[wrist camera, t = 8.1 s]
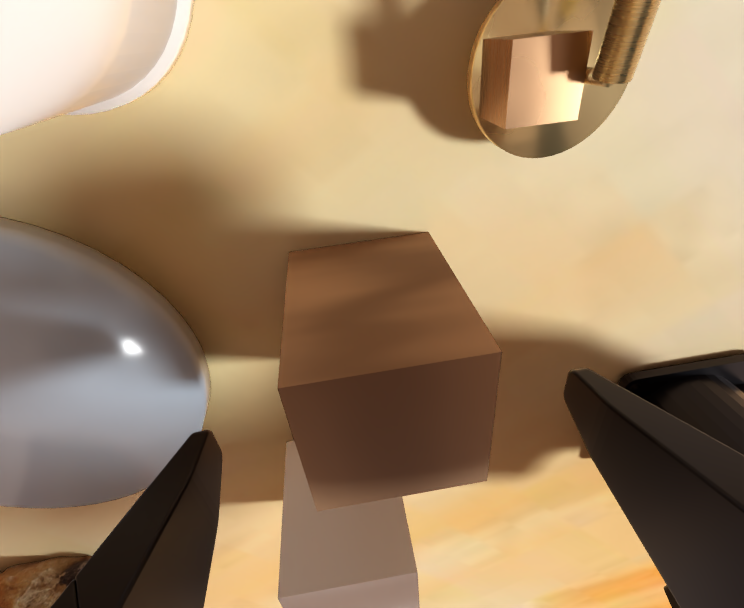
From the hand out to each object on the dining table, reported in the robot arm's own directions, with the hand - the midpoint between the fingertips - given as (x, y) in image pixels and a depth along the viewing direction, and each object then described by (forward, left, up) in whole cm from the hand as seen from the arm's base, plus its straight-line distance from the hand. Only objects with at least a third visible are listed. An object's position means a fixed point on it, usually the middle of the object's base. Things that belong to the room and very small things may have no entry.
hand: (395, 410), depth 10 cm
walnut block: (0, 0, -5) cm, 5 cm away
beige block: (+2, +9, -5) cm, 10 cm away
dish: (+12, +1, -5) cm, 13 cm away
